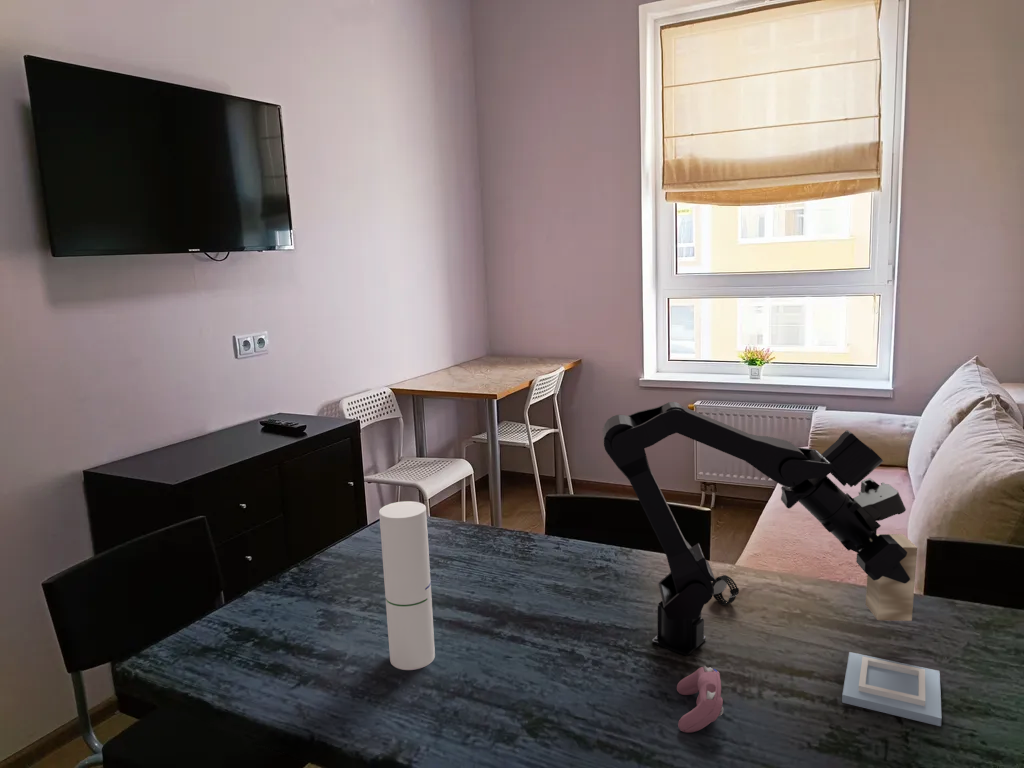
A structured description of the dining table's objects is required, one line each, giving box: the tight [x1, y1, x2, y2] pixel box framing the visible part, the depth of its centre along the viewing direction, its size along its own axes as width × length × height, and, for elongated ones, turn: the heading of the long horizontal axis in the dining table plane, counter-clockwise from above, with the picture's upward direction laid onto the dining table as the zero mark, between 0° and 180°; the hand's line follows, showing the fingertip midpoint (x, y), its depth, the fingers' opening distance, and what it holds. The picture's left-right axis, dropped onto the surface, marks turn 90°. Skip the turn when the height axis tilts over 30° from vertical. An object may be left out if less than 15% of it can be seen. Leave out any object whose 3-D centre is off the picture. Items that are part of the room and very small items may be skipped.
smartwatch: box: [712, 574, 740, 606], centre depth 131 cm, size 4×5×5 cm
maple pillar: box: [865, 533, 918, 622], centre depth 115 cm, size 5×5×12 cm
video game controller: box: [676, 665, 724, 733], centre depth 102 cm, size 10×5×7 cm, turn 169°
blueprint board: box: [841, 651, 942, 727], centre depth 106 cm, size 12×12×2 cm
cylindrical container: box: [378, 500, 436, 671], centre depth 116 cm, size 7×7×25 cm
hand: (900, 573), depth 115 cm, fingers closed on maple pillar, 5 cm apart
